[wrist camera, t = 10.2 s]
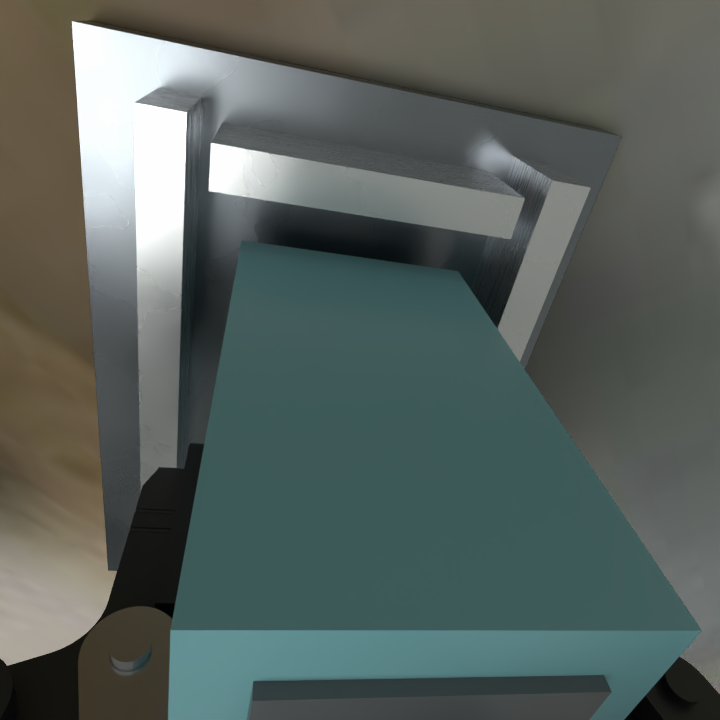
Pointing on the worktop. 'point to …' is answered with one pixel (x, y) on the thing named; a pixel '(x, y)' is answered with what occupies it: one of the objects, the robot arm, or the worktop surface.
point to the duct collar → (289, 213)
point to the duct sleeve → (400, 519)
